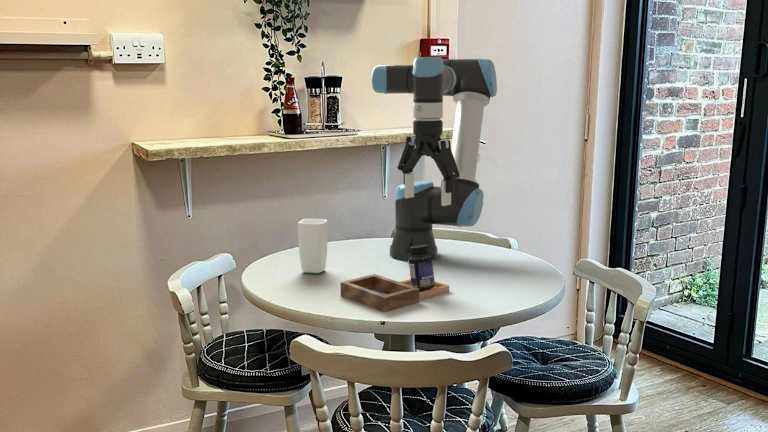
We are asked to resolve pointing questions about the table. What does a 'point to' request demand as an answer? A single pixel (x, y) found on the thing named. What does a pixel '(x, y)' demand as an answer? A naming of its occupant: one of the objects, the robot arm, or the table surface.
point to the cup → (313, 244)
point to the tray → (431, 292)
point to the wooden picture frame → (363, 293)
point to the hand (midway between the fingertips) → (427, 201)
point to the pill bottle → (421, 268)
